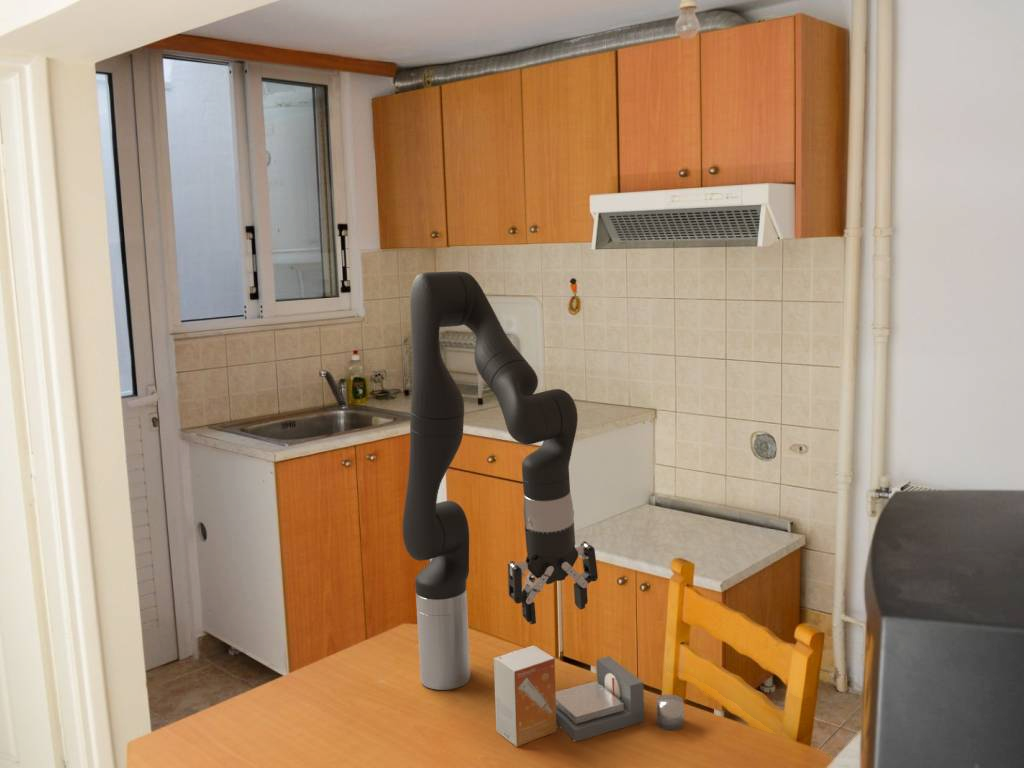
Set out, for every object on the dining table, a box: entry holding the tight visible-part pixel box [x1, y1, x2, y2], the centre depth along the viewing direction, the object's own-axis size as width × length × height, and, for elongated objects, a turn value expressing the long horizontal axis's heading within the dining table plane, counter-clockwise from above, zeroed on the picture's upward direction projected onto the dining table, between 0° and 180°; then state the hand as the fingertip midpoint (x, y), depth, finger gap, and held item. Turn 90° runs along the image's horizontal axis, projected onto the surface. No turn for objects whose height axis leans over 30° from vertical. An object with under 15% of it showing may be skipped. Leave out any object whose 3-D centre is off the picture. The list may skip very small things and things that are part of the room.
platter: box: [555, 680, 624, 724], centre depth 157 cm, size 9×9×1 cm
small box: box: [493, 645, 557, 747], centre depth 153 cm, size 8×6×13 cm
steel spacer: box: [656, 694, 685, 731], centre depth 155 cm, size 4×4×4 cm
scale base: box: [556, 656, 645, 742], centre depth 158 cm, size 11×13×7 cm
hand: (555, 614), depth 147 cm, fingers open, 8 cm apart
